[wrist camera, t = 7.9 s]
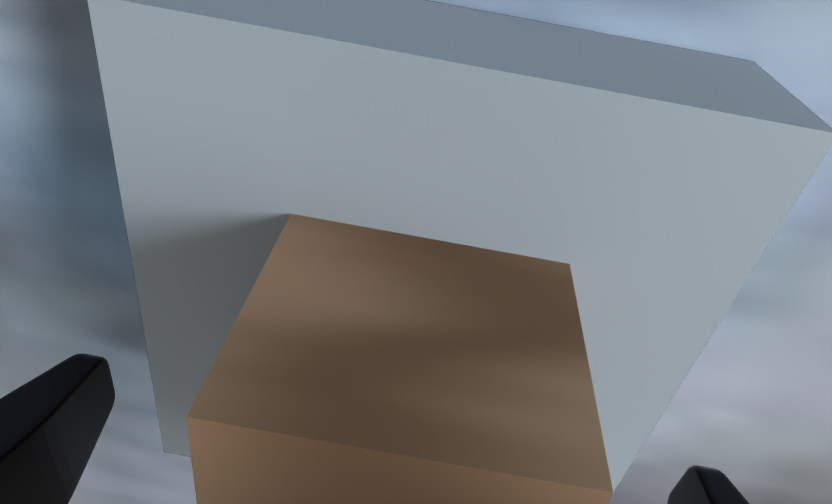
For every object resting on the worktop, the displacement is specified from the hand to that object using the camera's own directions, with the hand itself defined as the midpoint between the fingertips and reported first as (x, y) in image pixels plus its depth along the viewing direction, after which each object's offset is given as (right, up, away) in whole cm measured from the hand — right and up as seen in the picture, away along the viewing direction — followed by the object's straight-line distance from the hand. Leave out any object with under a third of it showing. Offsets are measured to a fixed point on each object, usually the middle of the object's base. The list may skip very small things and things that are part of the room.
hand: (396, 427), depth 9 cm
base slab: (0, +3, +4) cm, 5 cm away
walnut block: (0, +1, +2) cm, 2 cm away
